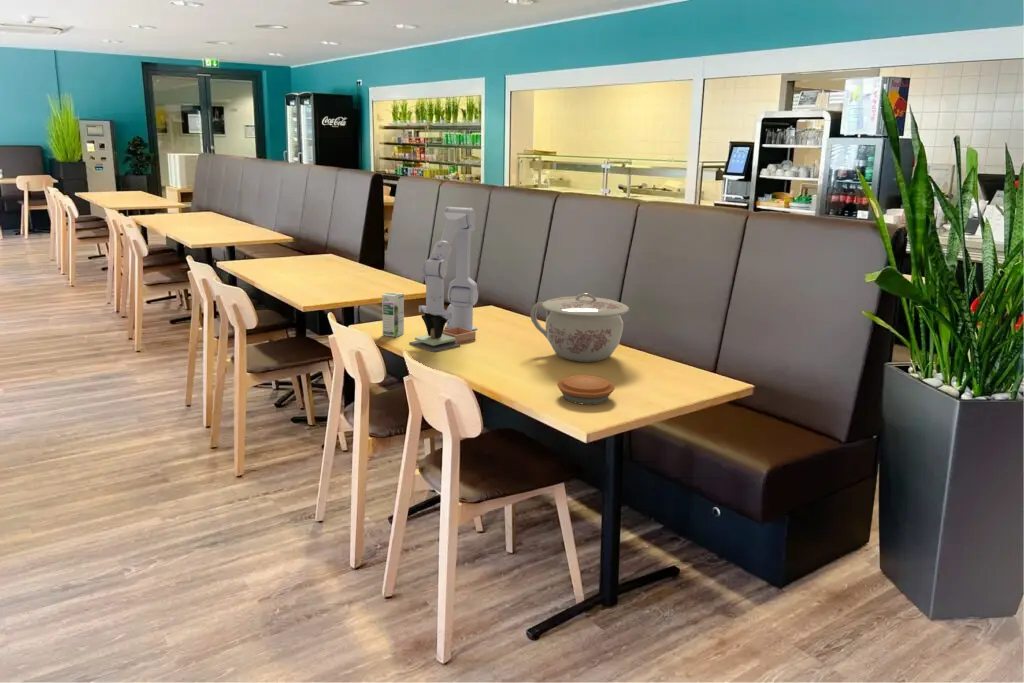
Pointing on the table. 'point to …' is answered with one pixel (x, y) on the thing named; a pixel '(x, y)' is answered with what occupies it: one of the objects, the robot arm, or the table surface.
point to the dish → (460, 334)
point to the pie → (585, 389)
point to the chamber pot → (582, 326)
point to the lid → (433, 340)
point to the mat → (435, 346)
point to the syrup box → (393, 314)
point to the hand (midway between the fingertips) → (434, 336)
